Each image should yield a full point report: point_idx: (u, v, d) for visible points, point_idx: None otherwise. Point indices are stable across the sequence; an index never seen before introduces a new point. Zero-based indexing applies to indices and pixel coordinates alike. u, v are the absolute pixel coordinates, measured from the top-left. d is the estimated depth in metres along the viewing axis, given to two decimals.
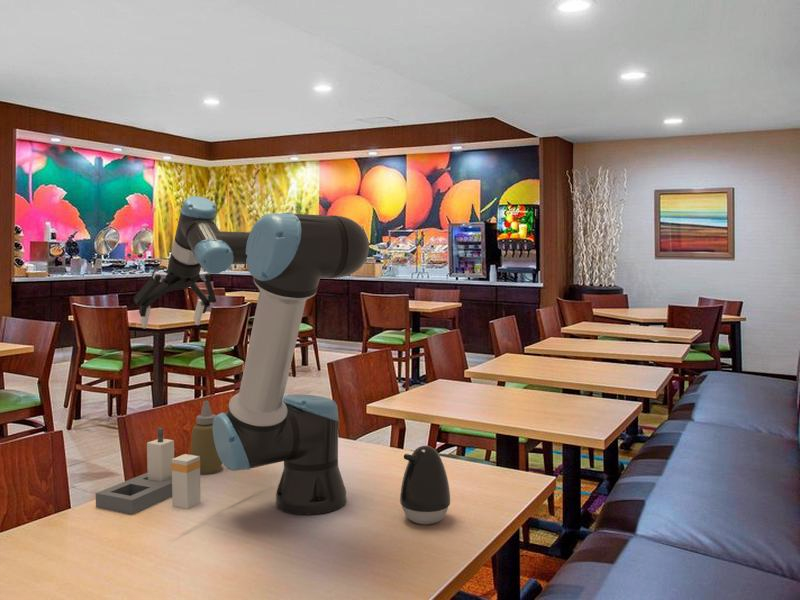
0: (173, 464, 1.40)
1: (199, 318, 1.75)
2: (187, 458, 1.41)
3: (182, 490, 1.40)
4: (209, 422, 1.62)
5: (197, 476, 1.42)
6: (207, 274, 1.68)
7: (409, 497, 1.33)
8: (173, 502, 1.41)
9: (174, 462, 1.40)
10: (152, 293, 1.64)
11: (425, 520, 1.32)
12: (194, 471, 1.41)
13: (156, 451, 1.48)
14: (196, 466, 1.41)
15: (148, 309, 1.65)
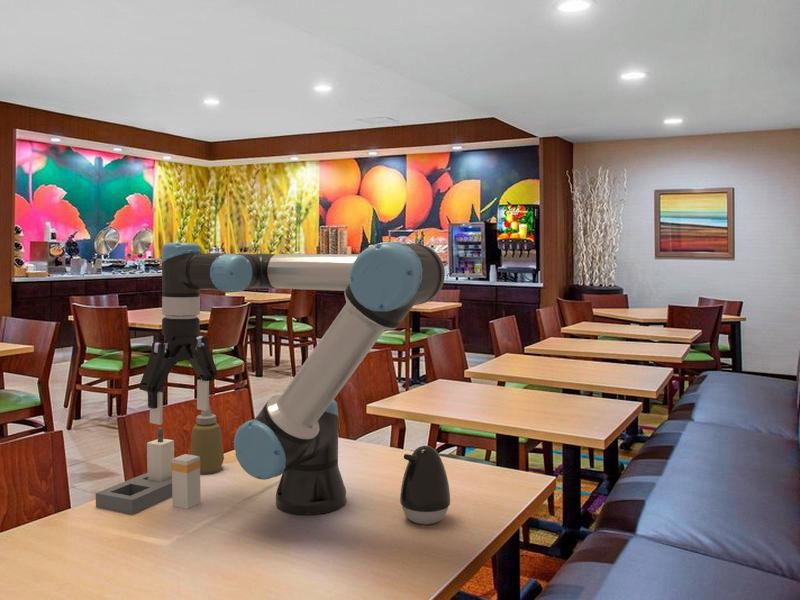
0: (173, 464, 1.40)
1: (207, 400, 1.48)
2: (187, 458, 1.41)
3: (182, 490, 1.39)
4: (209, 422, 1.62)
5: (197, 476, 1.42)
6: (203, 337, 1.46)
7: (409, 497, 1.33)
8: (173, 502, 1.41)
9: (174, 462, 1.40)
10: (157, 374, 1.36)
11: (425, 520, 1.32)
12: (194, 471, 1.41)
13: (156, 451, 1.48)
14: (196, 466, 1.41)
15: (160, 394, 1.35)
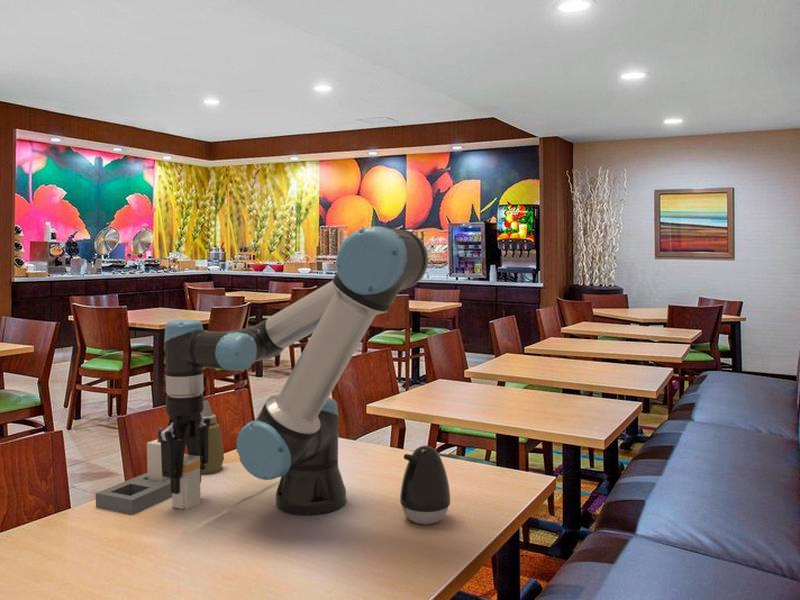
0: None
1: None
2: (187, 458, 1.41)
3: None
4: None
5: (197, 476, 1.42)
6: (207, 418, 1.46)
7: (409, 497, 1.33)
8: None
9: None
10: None
11: (425, 520, 1.32)
12: (193, 471, 1.41)
13: (156, 451, 1.48)
14: (196, 466, 1.41)
15: (182, 479, 1.39)
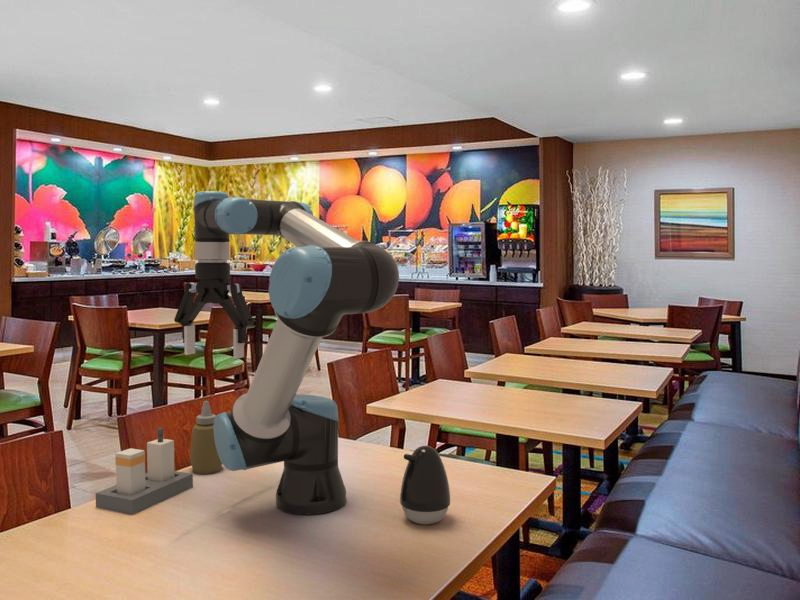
0: None
1: (234, 348, 1.48)
2: (126, 452, 1.41)
3: None
4: (209, 422, 1.62)
5: (127, 474, 1.39)
6: (232, 284, 1.48)
7: (409, 497, 1.33)
8: None
9: None
10: None
11: (425, 520, 1.32)
12: (123, 467, 1.40)
13: (156, 451, 1.48)
14: (126, 463, 1.39)
15: (185, 328, 1.53)
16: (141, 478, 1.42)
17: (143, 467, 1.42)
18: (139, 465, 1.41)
